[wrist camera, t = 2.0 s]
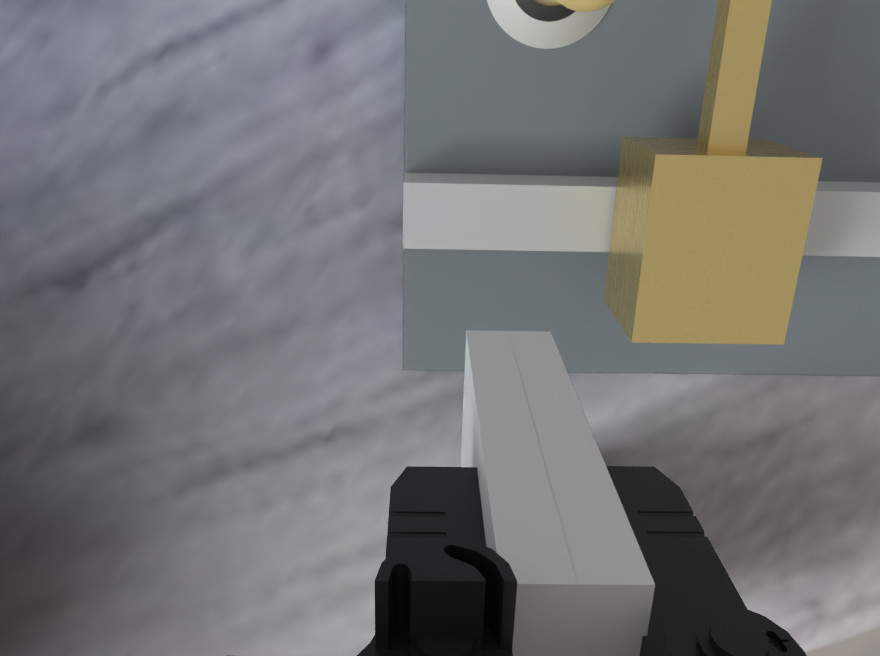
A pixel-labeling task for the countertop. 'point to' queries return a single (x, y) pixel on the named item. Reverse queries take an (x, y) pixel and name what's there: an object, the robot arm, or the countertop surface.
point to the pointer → (712, 212)
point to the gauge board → (596, 170)
